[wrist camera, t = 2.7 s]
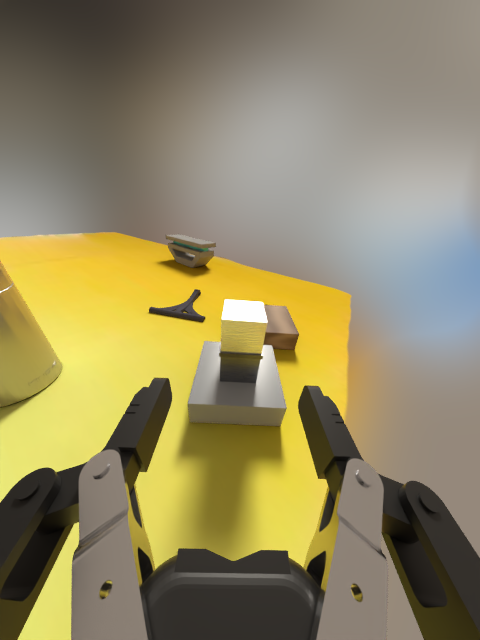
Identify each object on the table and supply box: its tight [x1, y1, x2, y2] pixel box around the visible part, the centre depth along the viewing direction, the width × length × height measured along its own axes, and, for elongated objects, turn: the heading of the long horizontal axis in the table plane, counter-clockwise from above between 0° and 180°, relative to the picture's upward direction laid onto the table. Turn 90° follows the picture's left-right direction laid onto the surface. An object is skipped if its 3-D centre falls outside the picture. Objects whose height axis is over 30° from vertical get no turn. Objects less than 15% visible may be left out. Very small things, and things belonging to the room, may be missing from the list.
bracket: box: [149, 289, 205, 322], centre depth 51 cm, size 14×15×3 cm
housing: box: [219, 299, 267, 383], centre depth 25 cm, size 5×5×10 cm
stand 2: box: [263, 305, 299, 350], centre depth 42 cm, size 12×12×4 cm
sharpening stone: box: [166, 235, 216, 268], centre depth 84 cm, size 25×8×11 cm, turn 51°
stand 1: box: [188, 341, 287, 426], centre depth 28 cm, size 12×12×4 cm
